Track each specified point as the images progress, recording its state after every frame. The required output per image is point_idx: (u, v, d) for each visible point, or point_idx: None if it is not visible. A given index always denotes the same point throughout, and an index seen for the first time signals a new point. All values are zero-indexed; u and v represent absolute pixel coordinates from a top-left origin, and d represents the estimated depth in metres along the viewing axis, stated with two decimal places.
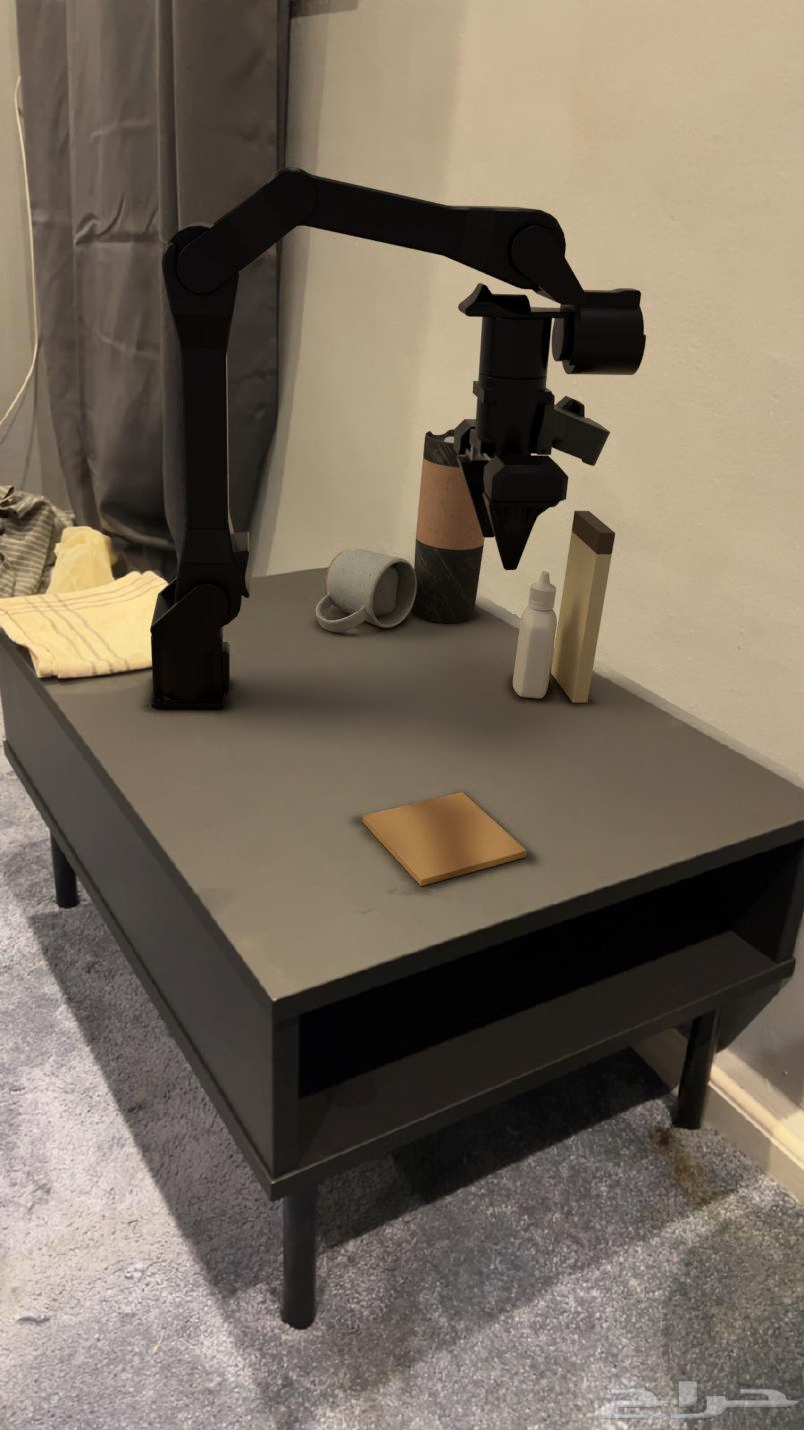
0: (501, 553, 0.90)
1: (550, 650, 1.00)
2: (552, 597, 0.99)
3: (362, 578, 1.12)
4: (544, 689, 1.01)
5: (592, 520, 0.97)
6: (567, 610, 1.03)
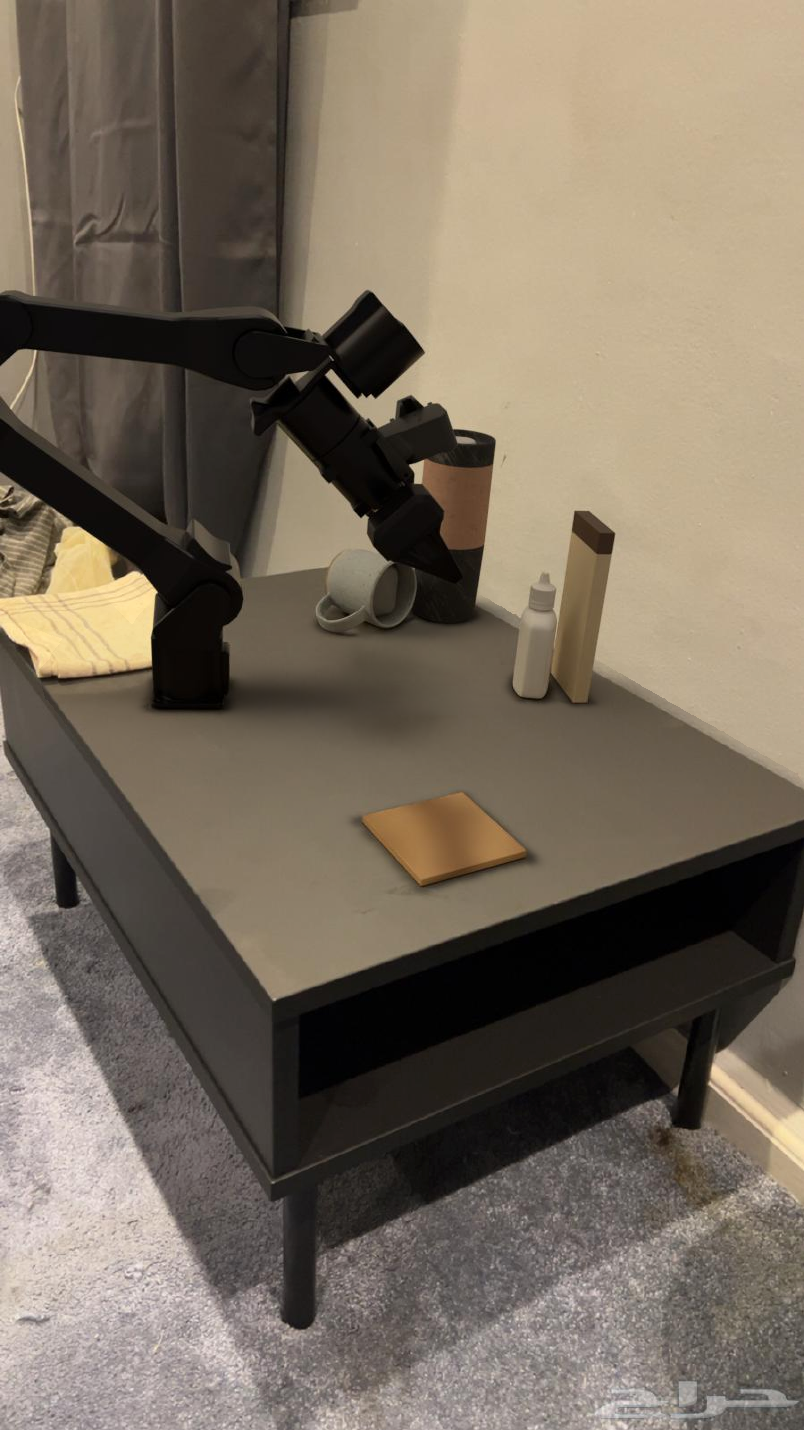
0: (440, 577, 0.91)
1: (550, 650, 1.00)
2: (552, 597, 0.99)
3: (362, 578, 1.12)
4: (544, 689, 1.01)
5: (592, 520, 0.97)
6: (567, 610, 1.03)
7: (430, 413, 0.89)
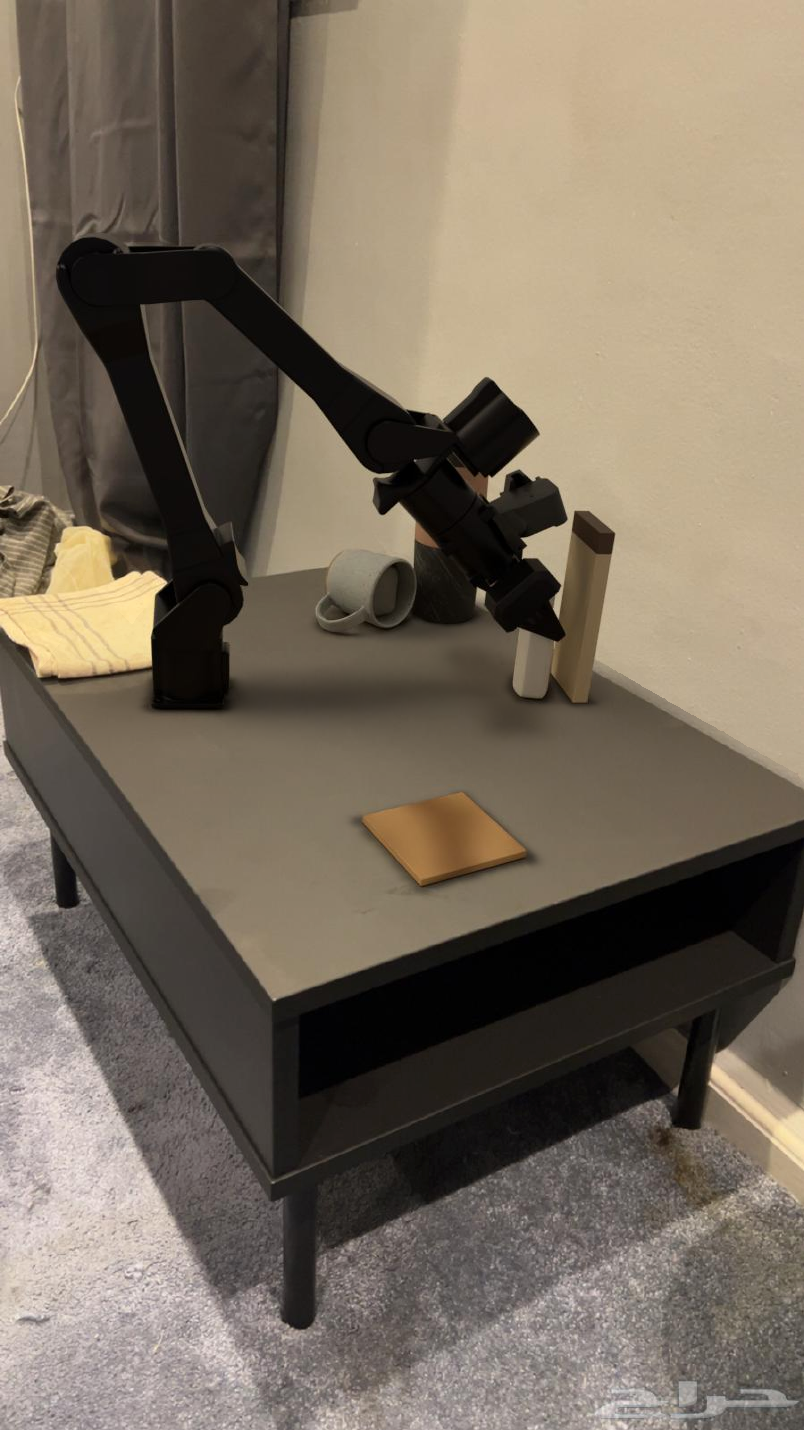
0: (544, 636, 0.98)
1: (550, 650, 1.00)
2: (552, 597, 0.99)
3: (362, 579, 1.12)
4: (544, 689, 1.02)
5: (592, 520, 0.97)
6: (567, 610, 1.03)
7: (541, 489, 0.94)
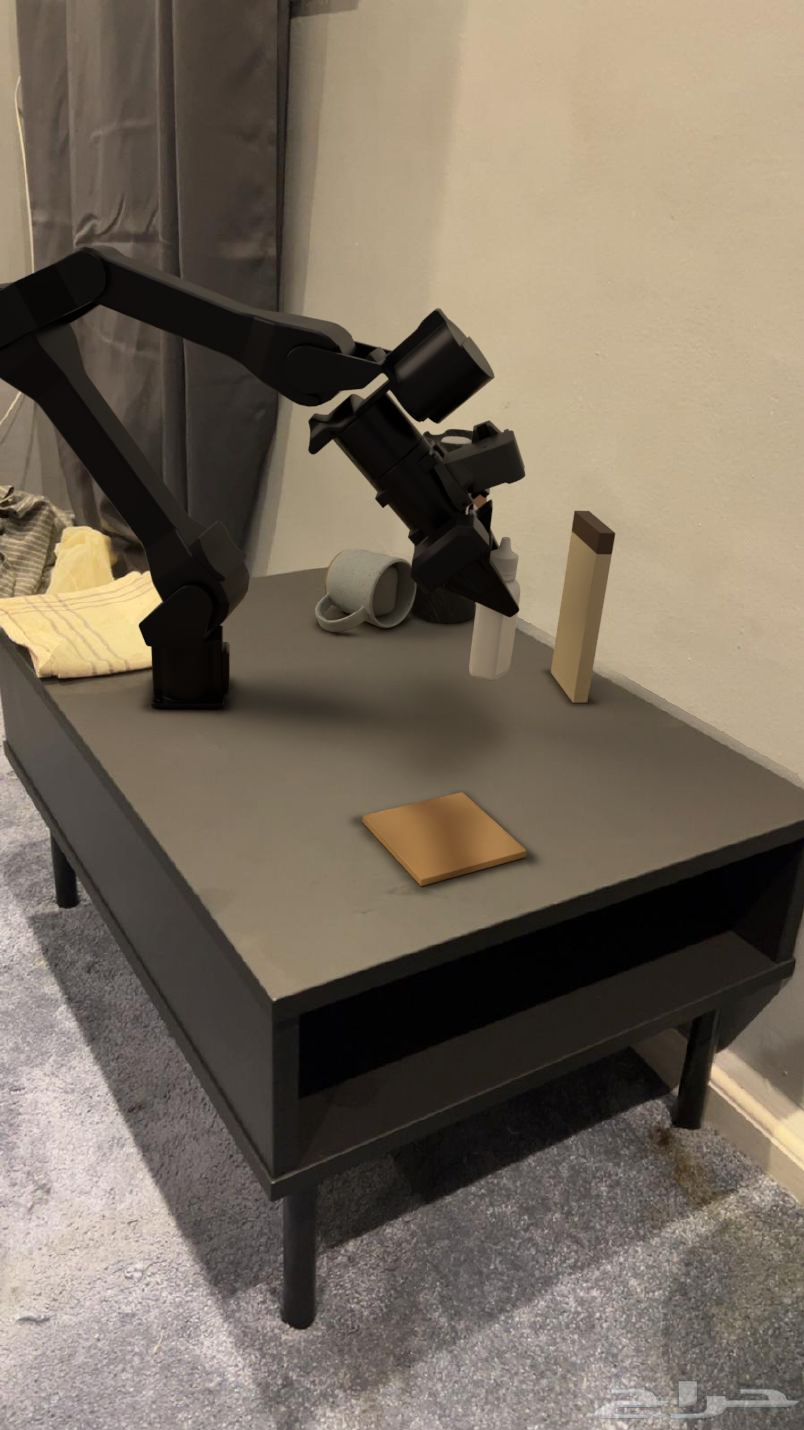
0: (492, 608, 0.86)
1: (504, 626, 0.88)
2: (511, 566, 0.87)
3: (362, 579, 1.12)
4: (497, 671, 0.90)
5: (592, 520, 0.97)
6: (567, 610, 1.03)
7: (498, 440, 0.83)
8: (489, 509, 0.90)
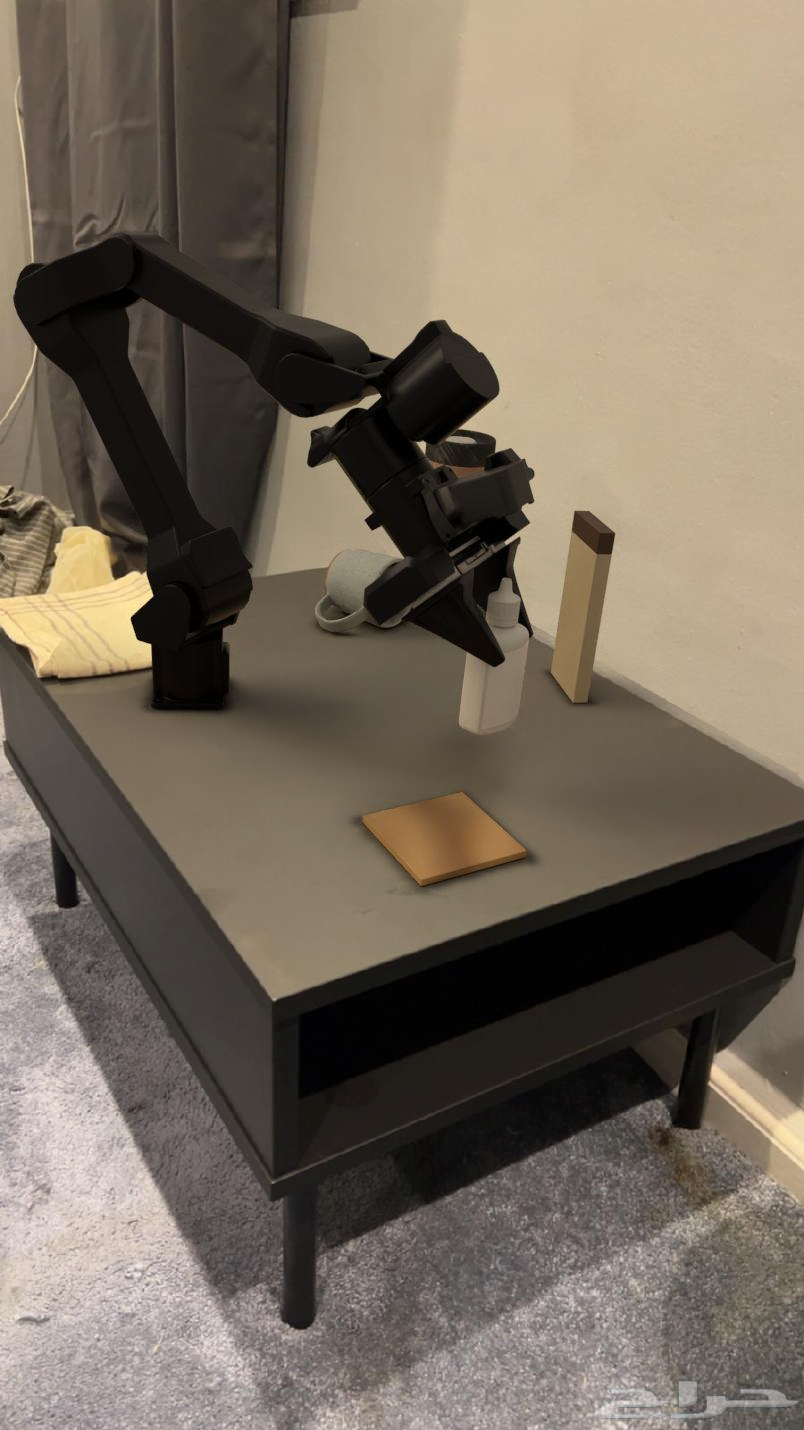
0: (473, 654, 0.78)
1: (492, 677, 0.79)
2: (507, 611, 0.78)
3: (362, 579, 1.12)
4: (484, 725, 0.81)
5: (592, 520, 0.97)
6: (567, 610, 1.03)
7: (497, 469, 0.75)
8: (506, 546, 0.81)
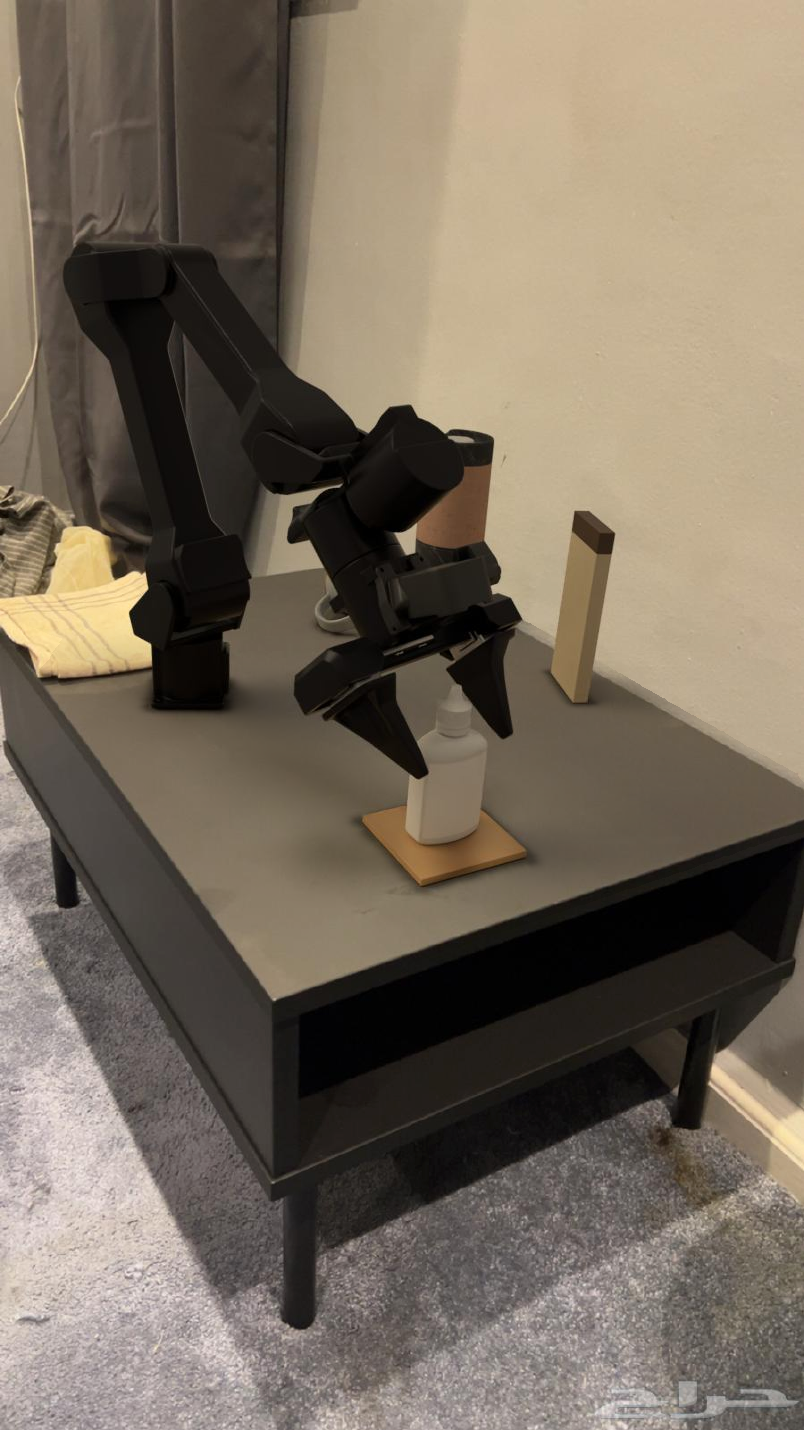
0: (397, 763, 0.72)
1: (432, 786, 0.74)
2: (452, 720, 0.73)
3: None
4: (426, 835, 0.76)
5: (592, 520, 0.97)
6: (567, 610, 1.03)
7: (448, 565, 0.70)
8: (491, 638, 0.77)
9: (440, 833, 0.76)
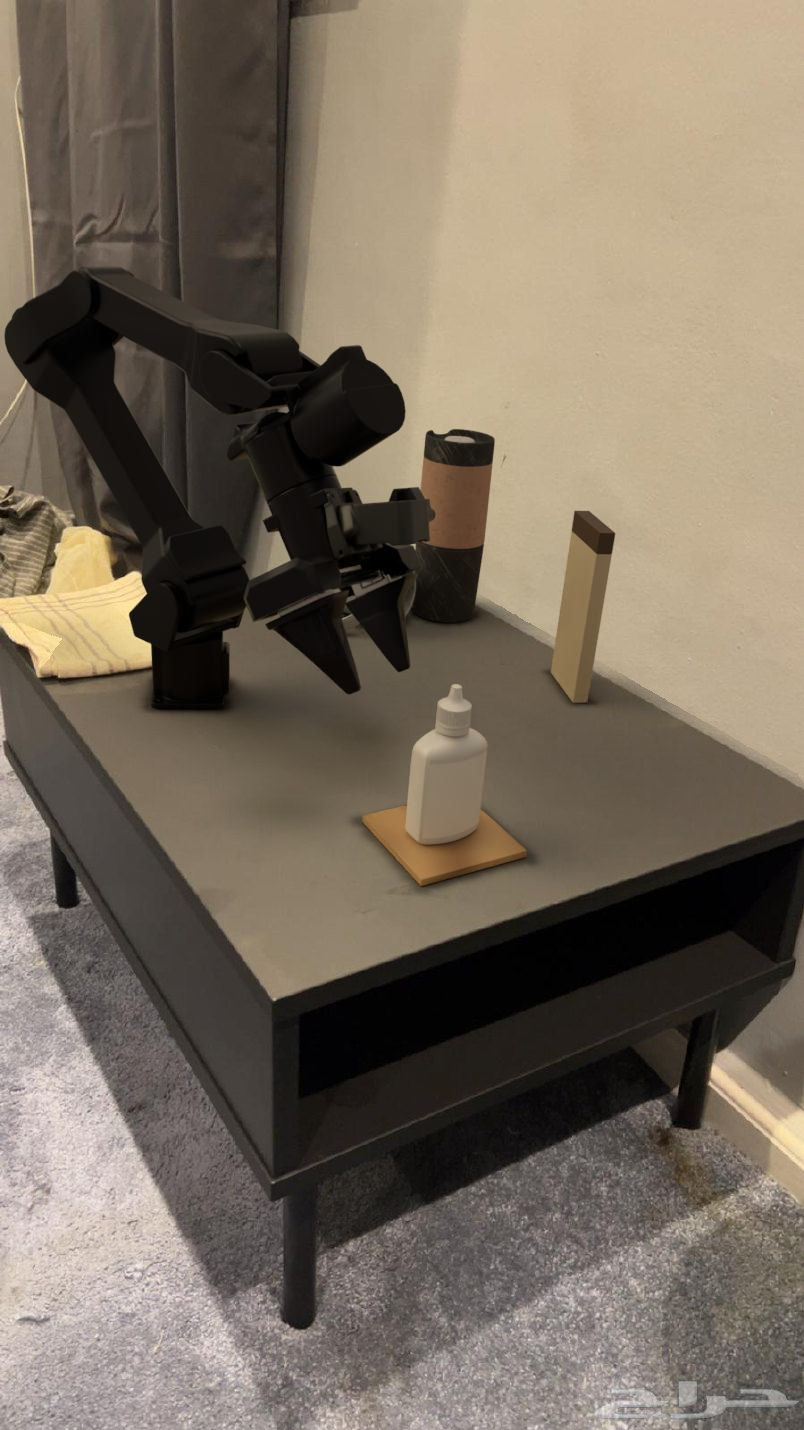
0: (330, 677, 0.77)
1: (432, 786, 0.74)
2: (452, 720, 0.73)
3: None
4: (426, 834, 0.76)
5: (592, 520, 0.97)
6: (567, 610, 1.03)
7: None
8: (402, 578, 0.84)
9: (440, 833, 0.76)
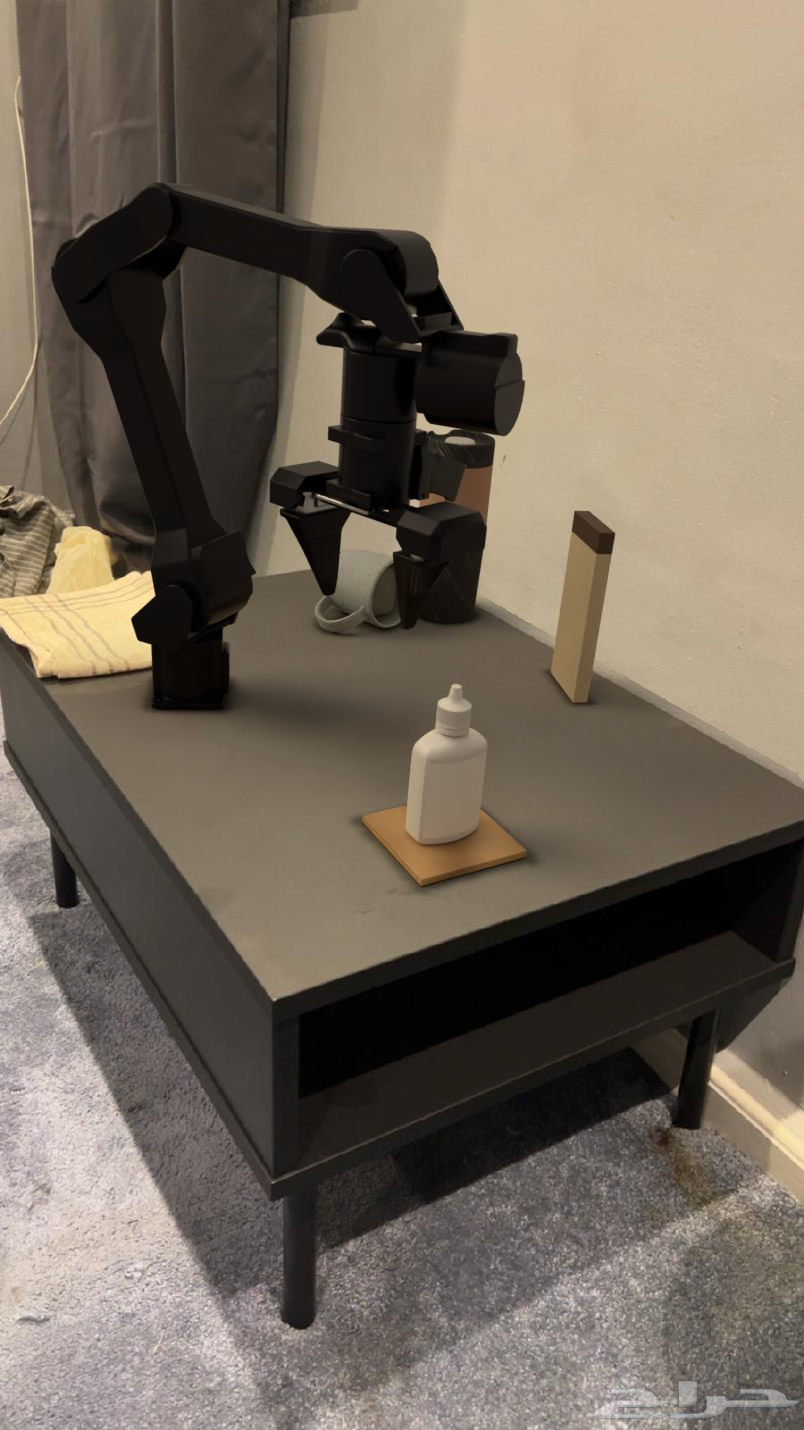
0: (406, 613, 0.81)
1: (432, 786, 0.74)
2: (452, 720, 0.73)
3: (361, 579, 1.12)
4: (426, 834, 0.76)
5: (592, 520, 0.97)
6: (567, 610, 1.03)
7: None
8: None
9: (440, 833, 0.76)
